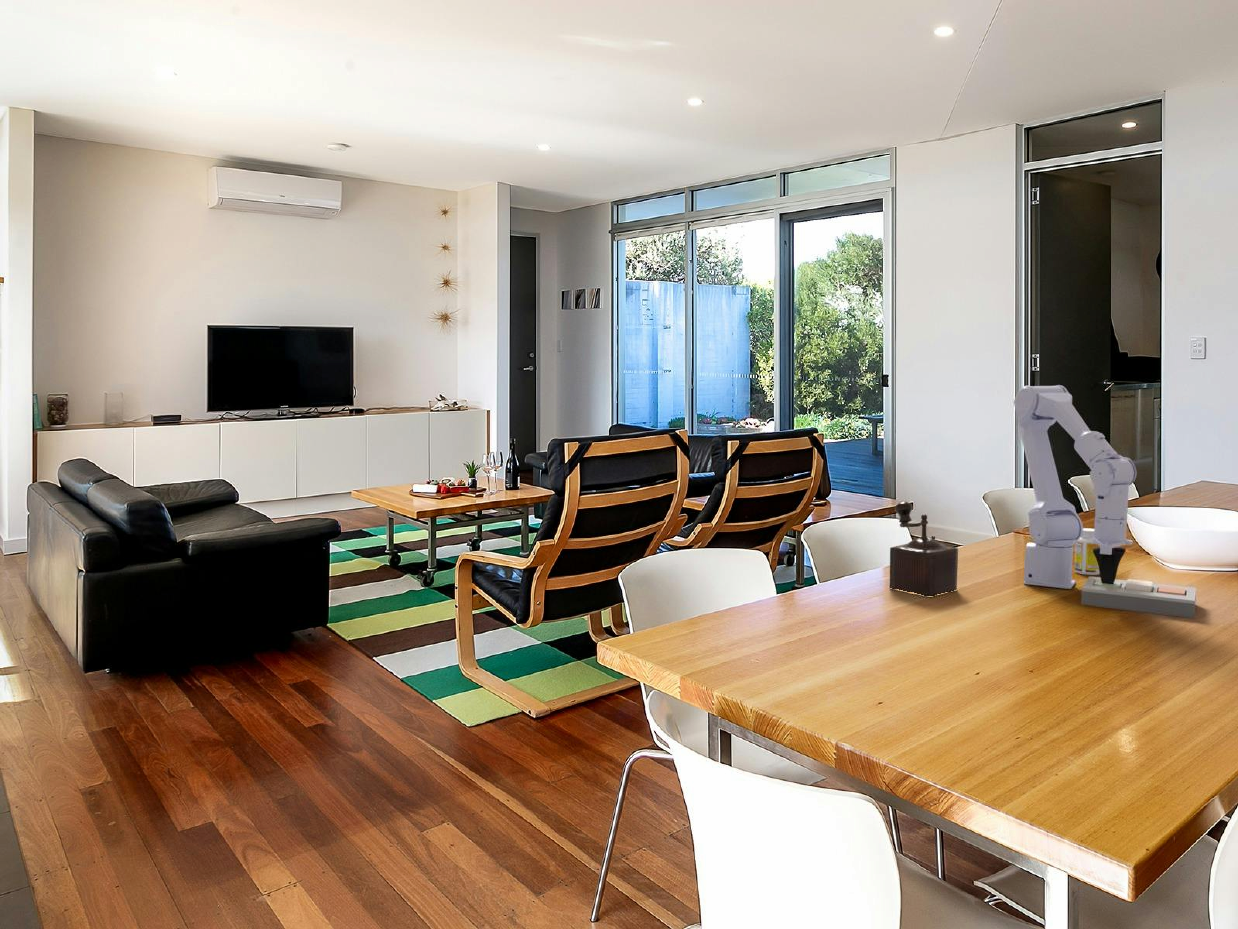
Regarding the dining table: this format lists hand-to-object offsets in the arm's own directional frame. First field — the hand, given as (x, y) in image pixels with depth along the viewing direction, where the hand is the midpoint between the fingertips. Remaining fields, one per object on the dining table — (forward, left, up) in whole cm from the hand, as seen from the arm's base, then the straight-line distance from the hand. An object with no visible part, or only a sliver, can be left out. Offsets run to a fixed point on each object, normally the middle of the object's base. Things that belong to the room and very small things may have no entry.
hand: (1107, 583), depth 185 cm
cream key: (+6, 0, -1) cm, 6 cm away
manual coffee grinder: (-36, -9, -4) cm, 38 cm away
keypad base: (+6, 0, -4) cm, 7 cm away
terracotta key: (+11, 0, -2) cm, 11 cm away
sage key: (0, 0, -2) cm, 2 cm away
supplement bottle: (-6, +26, -4) cm, 27 cm away
